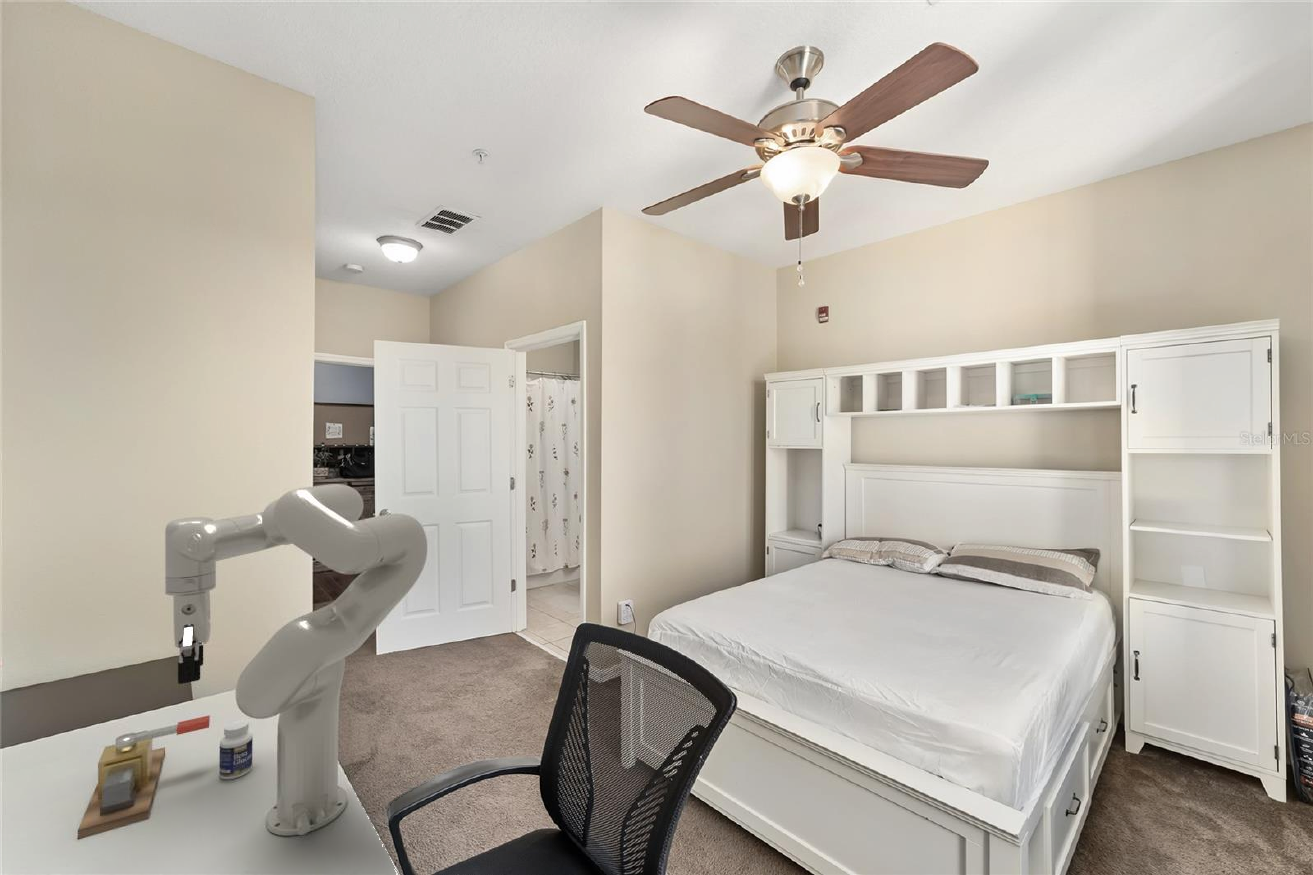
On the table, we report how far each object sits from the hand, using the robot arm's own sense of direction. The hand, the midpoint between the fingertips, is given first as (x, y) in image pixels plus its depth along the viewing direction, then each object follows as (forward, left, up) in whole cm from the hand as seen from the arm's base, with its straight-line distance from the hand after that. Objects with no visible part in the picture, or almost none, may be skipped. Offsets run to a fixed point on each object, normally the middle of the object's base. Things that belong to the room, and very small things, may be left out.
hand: (191, 673), depth 109 cm
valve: (+6, +10, -21) cm, 24 cm away
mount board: (+6, +10, -23) cm, 26 cm away
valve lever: (+6, +5, -14) cm, 16 cm away
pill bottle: (+2, -7, -23) cm, 24 cm away
